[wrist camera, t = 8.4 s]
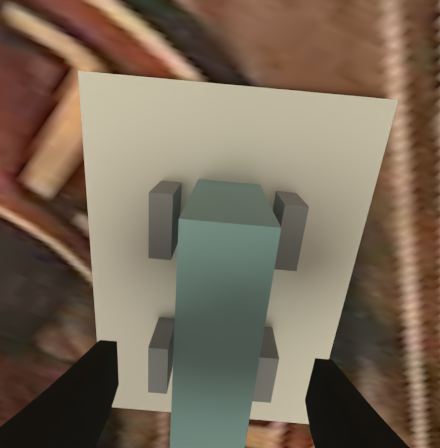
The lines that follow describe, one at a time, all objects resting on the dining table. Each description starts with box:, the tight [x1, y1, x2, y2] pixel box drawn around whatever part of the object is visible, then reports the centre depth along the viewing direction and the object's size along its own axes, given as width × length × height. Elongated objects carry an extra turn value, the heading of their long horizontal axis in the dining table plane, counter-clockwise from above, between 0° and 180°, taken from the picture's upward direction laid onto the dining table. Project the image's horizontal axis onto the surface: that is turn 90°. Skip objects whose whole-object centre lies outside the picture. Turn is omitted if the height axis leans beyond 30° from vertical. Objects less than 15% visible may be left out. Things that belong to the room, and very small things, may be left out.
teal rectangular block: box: [170, 179, 281, 448], centre depth 13 cm, size 3×12×6 cm, turn 175°
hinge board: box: [78, 71, 398, 424], centre depth 16 cm, size 14×20×4 cm
